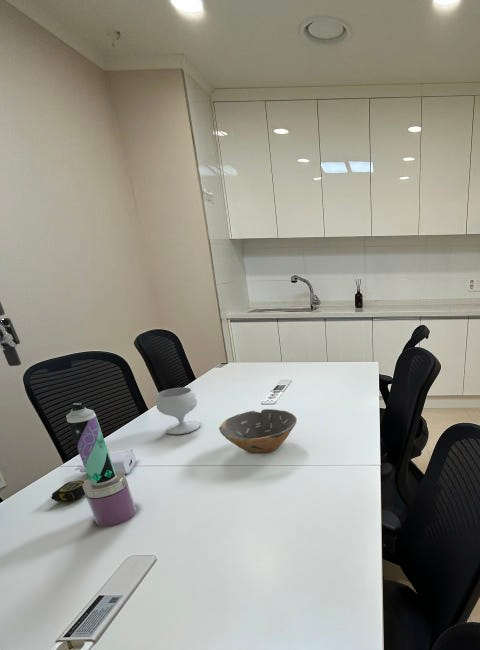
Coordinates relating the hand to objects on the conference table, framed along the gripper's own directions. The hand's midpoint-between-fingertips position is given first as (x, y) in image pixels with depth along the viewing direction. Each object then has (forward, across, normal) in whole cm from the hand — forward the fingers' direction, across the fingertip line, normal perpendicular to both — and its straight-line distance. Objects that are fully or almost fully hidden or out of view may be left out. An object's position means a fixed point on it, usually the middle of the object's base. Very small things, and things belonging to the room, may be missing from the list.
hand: (4, 370), depth 86 cm
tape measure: (+38, -7, -1) cm, 39 cm away
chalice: (+38, -50, +21) cm, 66 cm away
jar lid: (+28, +6, +14) cm, 32 cm away
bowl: (+38, -22, +51) cm, 67 cm away
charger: (+38, -21, +3) cm, 44 cm away
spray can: (+28, +6, +14) cm, 32 cm away
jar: (+38, +6, +14) cm, 41 cm away
